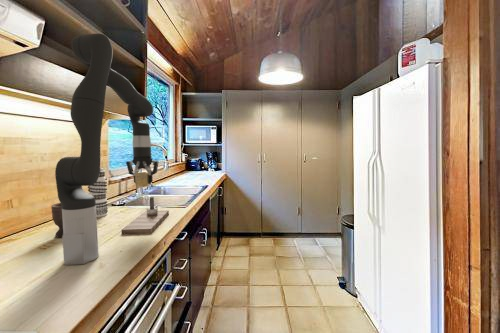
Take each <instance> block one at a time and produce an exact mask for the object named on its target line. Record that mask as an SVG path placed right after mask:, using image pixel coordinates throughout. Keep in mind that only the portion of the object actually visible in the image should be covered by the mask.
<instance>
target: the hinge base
mask: <svg viewBox="0 0 500 333" xmlns="http://www.w3.org/2000/svg"><path fill="white" fill-rule="evenodd" d="M169 212H170V210H169V209H168V210H164V209H163V210H158V204H156V205H155V197H154V196H149V208H147V209H146V210H144V211H143V212H142V213H141V214H140V215H139V216H137V217H136V218H135V219H133V220H132V221H131V222H129V223H128V224H127V225H125V226H124V227H122V228H121V230H120V231H121V235H140V234H141V235H143V234H146V235H147V234H148V235H149V234H152V233H153V232H154V231H155V230H156V229H157V228H158V227H159V226H160V225H161V223H162V222H163V221H164V220H165V219H166V218H167V217H168V216H169V214H170V213H169ZM166 216H167V217H166Z"/></svg>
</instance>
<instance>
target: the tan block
mask: <svg viewBox="0 0 500 333" xmlns="http://www.w3.org/2000/svg"><path fill="white" fill-rule="evenodd" d="M148 176H149V174H148V172H147V171H139V172H137V173H135V183H136V184H135V189H136V190H138V189H140V188H143V187H144V188H145V187H149V186H152V183H151V184H149V181H148Z"/></svg>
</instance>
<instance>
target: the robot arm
mask: <svg viewBox="0 0 500 333" xmlns="http://www.w3.org/2000/svg"><path fill="white" fill-rule="evenodd" d="M71 50H72V53H73V54H74V56H75V58H77V59H78V61H79V62H80V63H82V64H83V65H84V66H85V67H86V68H88V70H87V72H86V74H85V75H84V77H83V78H82V80H81V82H79V84H78V85H77V87H76V88H75V91H73V94H72V97H71V104H70V118H71V121H72V122H73V125H74V128H75V129H76V131H77V133H78V135H79V138H80V143H81V144H80V145H81V146H80V156H64V157H61V158H60V159H59V160H58V161H57V163H56V166H55V173H54V176H55V184H56V191H57V198H58V201H59V203H61V205H62V218H63V234H64V235H63V236H62V238H61V240H62V251H63V265H64V266H71V265H85V264H87V263H89V262H92V261H94V260H96V259H97V258H98V257H99V256H100V254H99V240H98V239H99V238H98V220H97V218H98V217H96V200H95V197H94V196H92V195H90V194H89V192H87V191H85V190H84V189H83V187H88V186H91V185H93V184H95V183H96V182H97V180H98V178H99V174H100V168H101V142H102V141H101V140H102V127H103V122H104V121H103V120H104V113H105V101H106V94H107V93H106V92H107V86H109V87H110V88H111V89H112V91H114V92H115V94H116V95H117V96H118V97H119V99H120V100H121V101H122V102H123V103H124V104H126V105H127V113H128V116H129V121H130V123H131V126H132V155H133V159H132V160H128V161H126V162H125V163H126V166H127V167H126V168H127V171H128V174H129V175H131V176H133V183H135V173H137V172H140V170H141V169H143V170H146V171H145V172H148V174H149V176H148V181H149V184H151V185H152V183H153V182H154V180H153V179H154V178H153V176H154V175H156V174H157V172H158V167H159V164H160V163H159V162H160V161H159V160H153V158H152V143H151V142H152V141H151V133H150V132H151V131H150V130H151V128H150V125H149V123H147V122H143V121H142V120H141V118H147V117H148V118H149V117H151V116H152V115H153V112H154V106H153V104H152V103H151V101H150V100H148V98H146V97H145V96H144V95H143V94H141V93H140V92H138V91H137V89H136V88H135V87H134V85H133V84H132V83H131V82H130V81H129V79H127V78H126V77H125V76H123V75H122V74H120V73H119V72H117V71H116V70H114V69H112V68H111V67H112V62H113V55H114V50H113V44H112V42H111V40H110V38H109V37H108V36H107V35H105V34H103V33H88V34H81V35H77V36H75V37H73V38H72V39H71ZM151 164H152V166H153V167H151ZM133 165H134V166H135V168H133ZM152 168H153V169H152ZM135 185H136V183H135Z"/></svg>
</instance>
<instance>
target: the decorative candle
mask: <svg viewBox="0 0 500 333" xmlns="http://www.w3.org/2000/svg"><path fill="white" fill-rule="evenodd" d="M105 172H106V170H105V169H104V168H103V167H100V174H99V178H98V180H97V182H96V183H95V184H93V185H91V186H87V189H88V190H87V191H88V194H90V195H92V196H94V197H95V200H96V218H100V217H101V218H102V217H105V216H108V215H109V211H108V209H109V208H108V204H107V203H108V200H107V194H108V193H107V190H108V189H107V187H108V185H107V183H108V182H107V181H106V180H108V178H107V177H106V173H105Z"/></svg>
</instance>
